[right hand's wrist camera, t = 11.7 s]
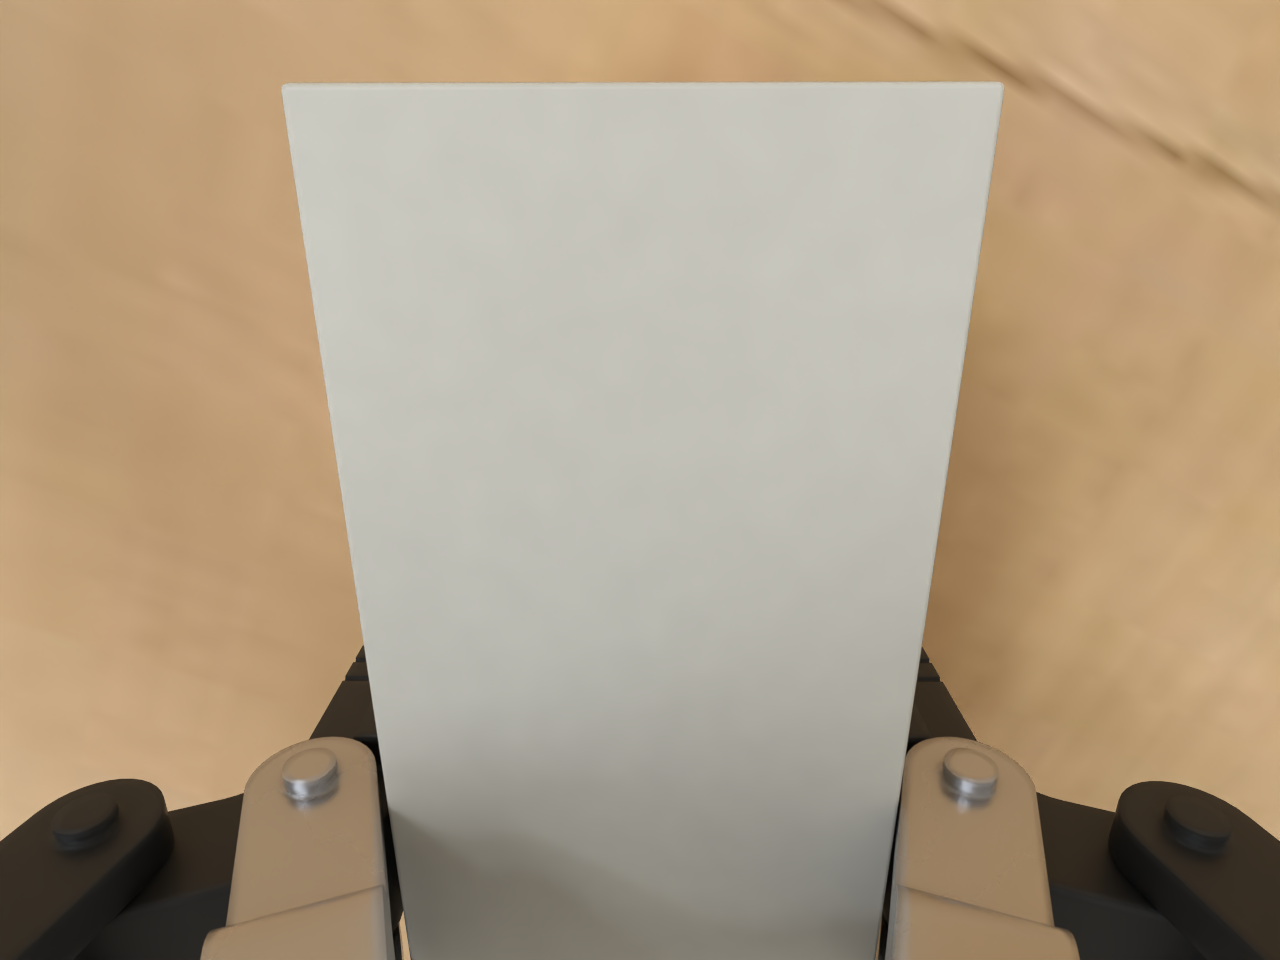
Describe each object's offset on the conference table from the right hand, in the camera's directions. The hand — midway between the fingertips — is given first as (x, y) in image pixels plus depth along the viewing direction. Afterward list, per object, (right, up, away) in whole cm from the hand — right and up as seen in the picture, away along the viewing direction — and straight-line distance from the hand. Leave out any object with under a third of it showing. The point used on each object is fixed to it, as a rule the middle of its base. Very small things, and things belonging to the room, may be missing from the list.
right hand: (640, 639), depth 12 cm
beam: (0, -23, +11) cm, 26 cm away
